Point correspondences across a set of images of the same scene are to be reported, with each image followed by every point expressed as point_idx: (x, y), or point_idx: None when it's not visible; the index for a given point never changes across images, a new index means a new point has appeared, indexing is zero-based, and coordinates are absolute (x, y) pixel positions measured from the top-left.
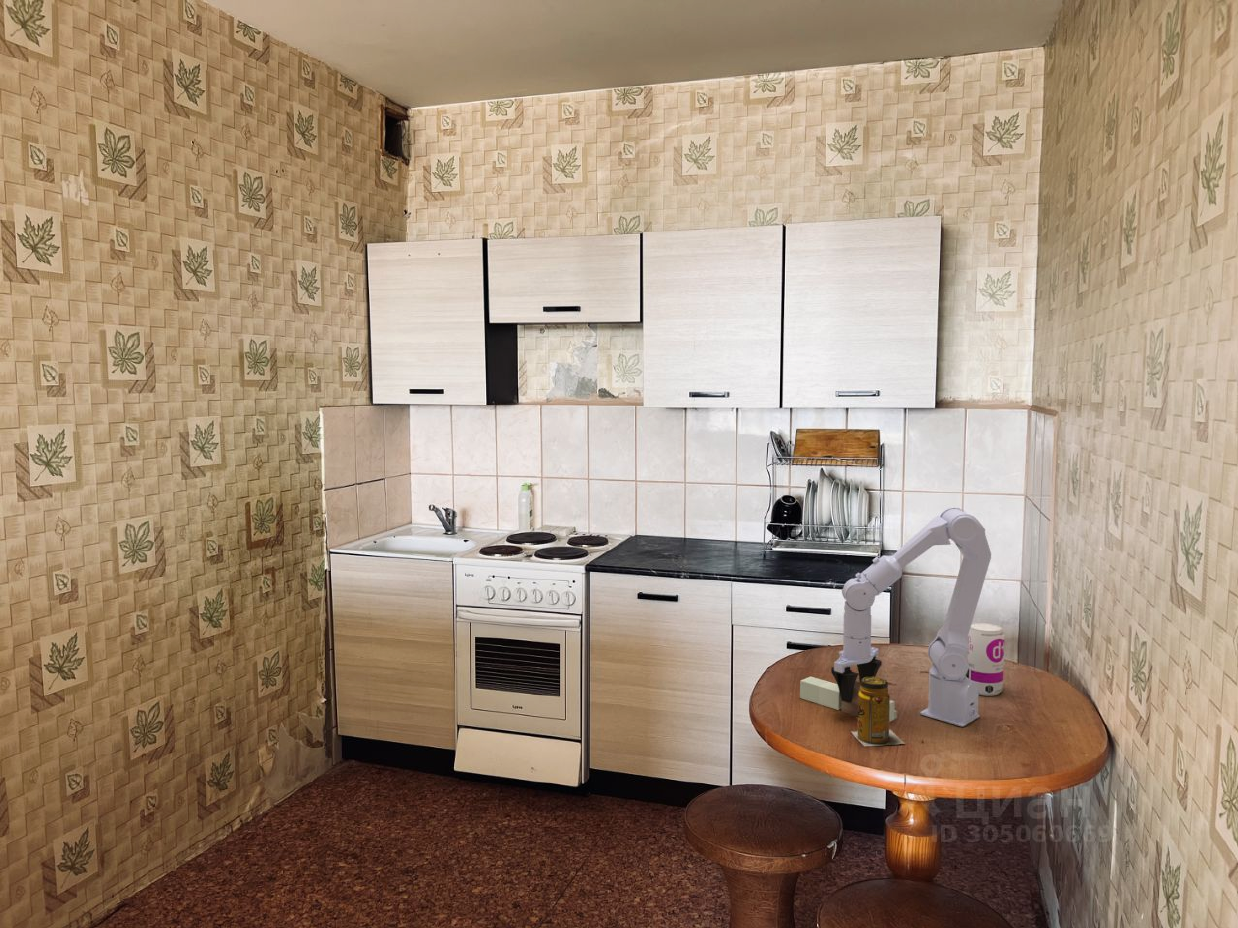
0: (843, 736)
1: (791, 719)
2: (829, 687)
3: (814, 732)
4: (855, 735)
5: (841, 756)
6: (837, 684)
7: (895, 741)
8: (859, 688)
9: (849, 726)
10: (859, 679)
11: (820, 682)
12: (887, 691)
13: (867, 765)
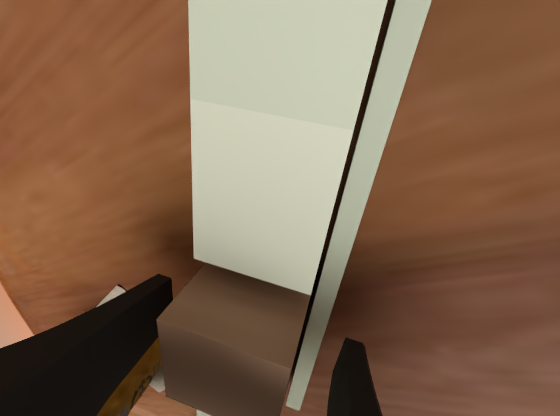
0: (83, 273)
1: (21, 70)
2: (228, 181)
3: (31, 196)
4: (111, 298)
5: (13, 288)
6: (49, 329)
7: (155, 375)
8: (181, 400)
9: (146, 274)
10: (350, 405)
11: (287, 58)
12: None
13: (34, 332)
